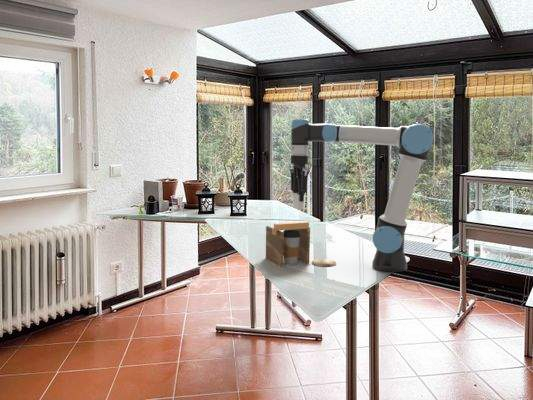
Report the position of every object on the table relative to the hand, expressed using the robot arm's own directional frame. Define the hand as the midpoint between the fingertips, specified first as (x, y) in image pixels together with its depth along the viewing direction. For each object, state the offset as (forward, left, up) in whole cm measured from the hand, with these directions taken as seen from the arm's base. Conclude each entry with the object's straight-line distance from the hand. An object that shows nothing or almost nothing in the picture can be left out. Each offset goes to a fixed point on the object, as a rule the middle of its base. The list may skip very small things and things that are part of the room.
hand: (298, 208), depth 223 cm
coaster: (-14, 0, -27) cm, 30 cm away
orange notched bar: (0, -7, -13) cm, 14 cm away
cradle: (0, -11, -27) cm, 29 cm away
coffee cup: (0, -6, -27) cm, 28 cm away
